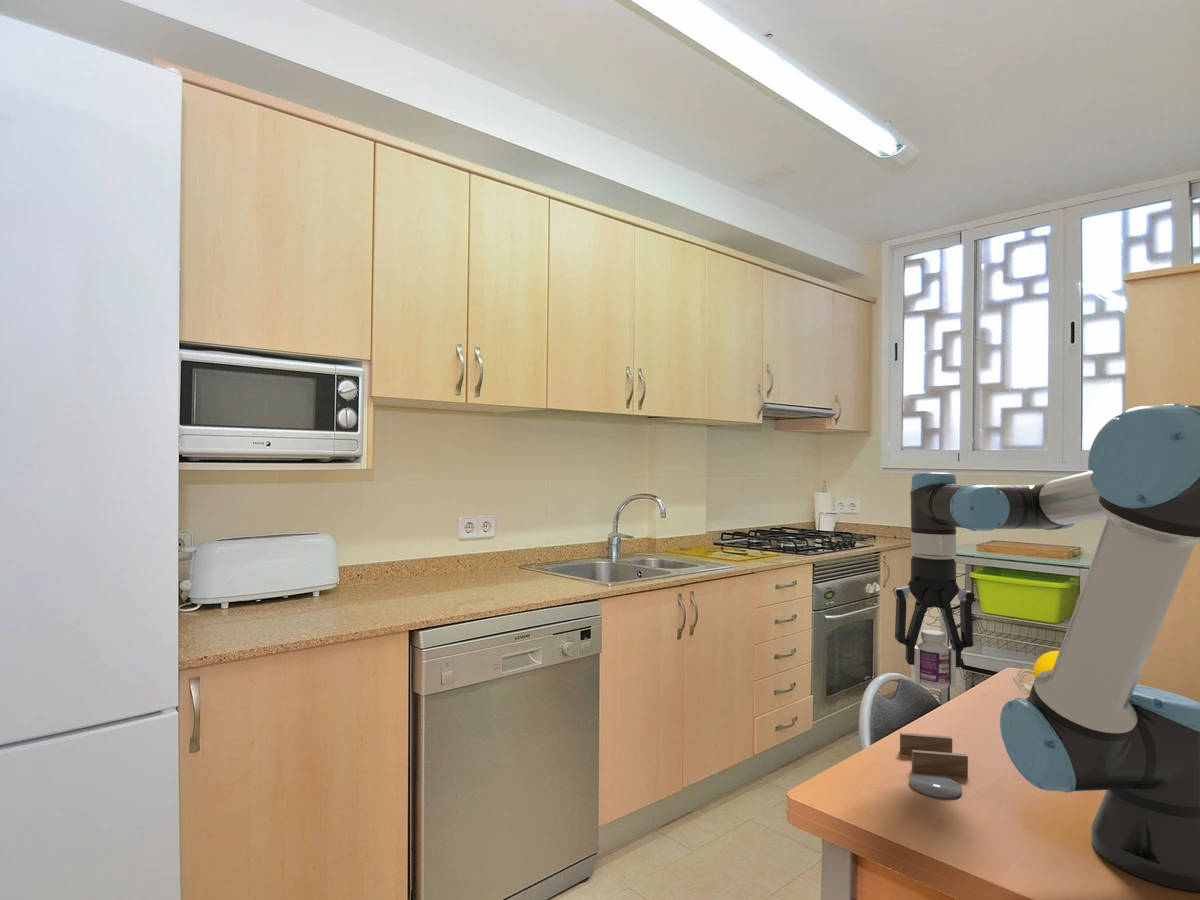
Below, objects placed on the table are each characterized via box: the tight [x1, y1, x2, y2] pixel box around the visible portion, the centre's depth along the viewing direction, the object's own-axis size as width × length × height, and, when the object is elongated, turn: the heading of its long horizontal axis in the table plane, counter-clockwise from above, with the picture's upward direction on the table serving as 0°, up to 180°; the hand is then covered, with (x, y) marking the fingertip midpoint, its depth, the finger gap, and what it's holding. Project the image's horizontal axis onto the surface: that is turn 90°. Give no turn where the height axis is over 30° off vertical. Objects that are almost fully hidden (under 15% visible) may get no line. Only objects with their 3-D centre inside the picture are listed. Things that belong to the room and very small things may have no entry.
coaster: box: [908, 772, 963, 800], centre depth 116 cm, size 8×8×1 cm
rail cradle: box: [899, 732, 969, 777], centre depth 125 cm, size 9×9×4 cm
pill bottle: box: [916, 629, 950, 690], centre depth 126 cm, size 5×5×10 cm
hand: (933, 683), depth 125 cm, fingers closed on pill bottle, 5 cm apart
